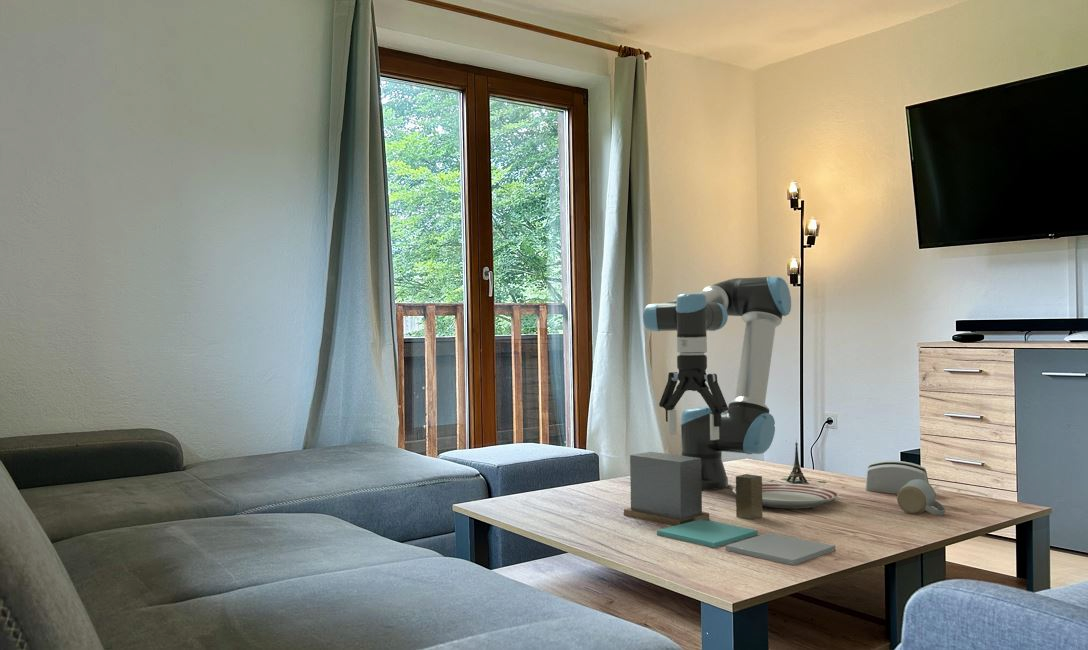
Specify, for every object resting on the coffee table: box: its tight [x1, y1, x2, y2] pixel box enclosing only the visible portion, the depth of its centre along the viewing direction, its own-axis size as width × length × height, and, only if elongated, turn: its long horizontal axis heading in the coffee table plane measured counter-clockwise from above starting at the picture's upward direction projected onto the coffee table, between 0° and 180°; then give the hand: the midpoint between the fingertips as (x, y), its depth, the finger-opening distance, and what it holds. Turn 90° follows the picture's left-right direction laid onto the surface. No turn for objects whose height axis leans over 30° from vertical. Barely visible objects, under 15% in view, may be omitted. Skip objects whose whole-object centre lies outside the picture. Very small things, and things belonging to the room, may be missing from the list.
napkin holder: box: [865, 460, 930, 494], centre depth 240 cm, size 17×5×10 cm, turn 61°
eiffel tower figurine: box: [768, 439, 828, 485], centre depth 258 cm, size 15×10×13 cm
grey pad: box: [725, 532, 836, 566], centre depth 180 cm, size 16×16×1 cm
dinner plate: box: [732, 482, 840, 509], centre depth 230 cm, size 28×27×3 cm
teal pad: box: [656, 519, 759, 548], centre depth 195 cm, size 16×16×1 cm
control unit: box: [623, 451, 710, 526], centre depth 213 cm, size 18×11×15 cm, turn 42°
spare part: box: [735, 473, 763, 520], centre depth 212 cm, size 4×4×10 cm
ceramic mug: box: [896, 479, 946, 517], centre depth 214 cm, size 11×8×8 cm
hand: (693, 437), depth 220 cm, fingers open, 13 cm apart
